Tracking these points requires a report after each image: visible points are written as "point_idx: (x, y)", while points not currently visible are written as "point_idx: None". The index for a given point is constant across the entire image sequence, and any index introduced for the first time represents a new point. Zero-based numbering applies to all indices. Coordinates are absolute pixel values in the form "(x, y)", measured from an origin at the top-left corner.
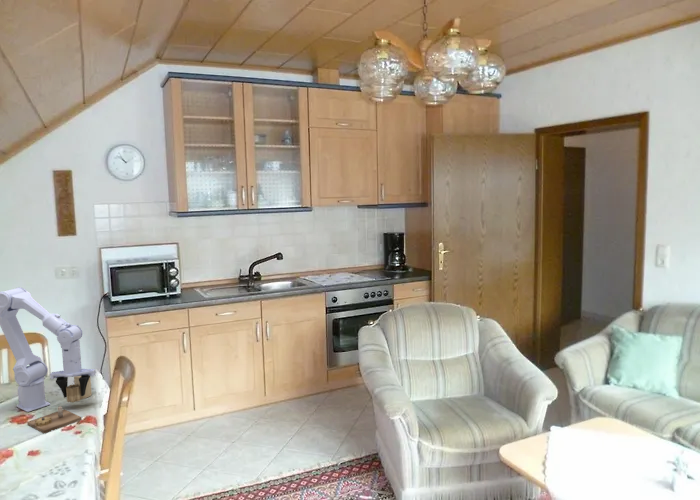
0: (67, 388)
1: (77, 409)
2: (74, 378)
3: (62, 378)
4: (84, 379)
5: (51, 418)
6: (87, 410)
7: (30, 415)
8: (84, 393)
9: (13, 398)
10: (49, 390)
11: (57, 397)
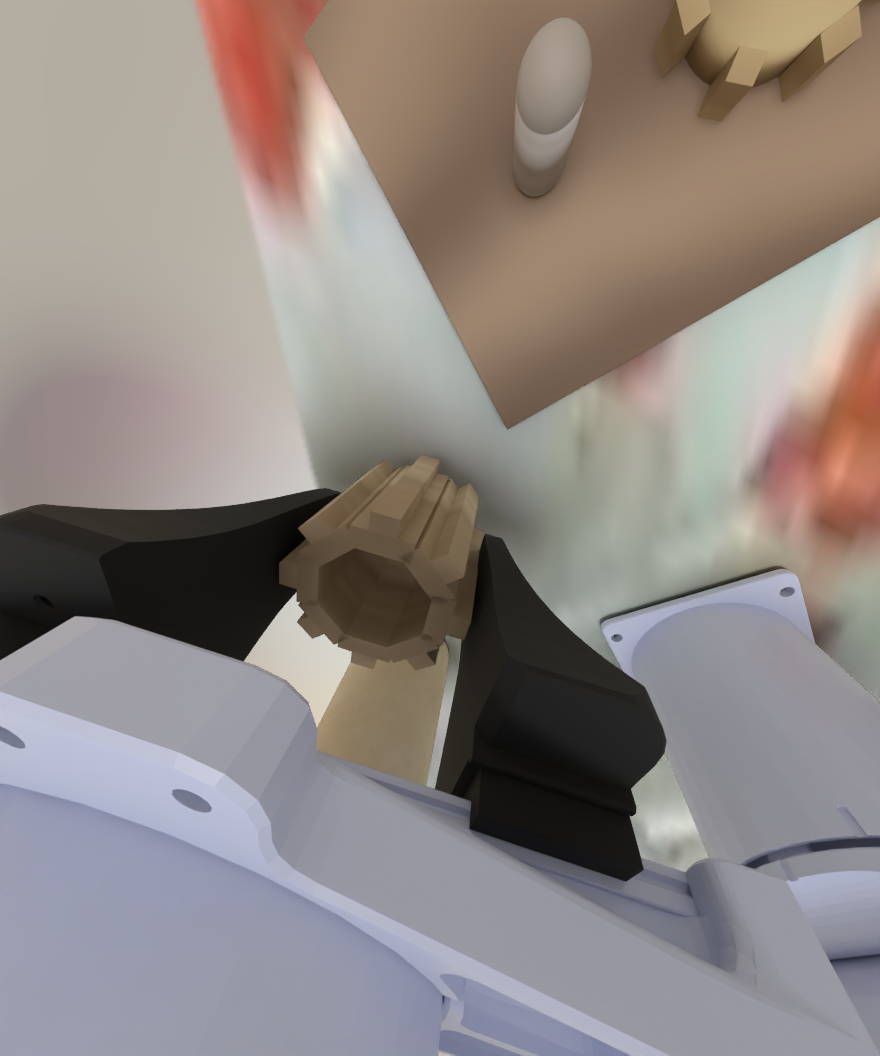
0: (444, 563)
1: (411, 434)
2: None
3: (503, 776)
4: (14, 515)
5: (642, 171)
6: (329, 367)
7: (782, 489)
8: None
9: None
10: None
11: None
